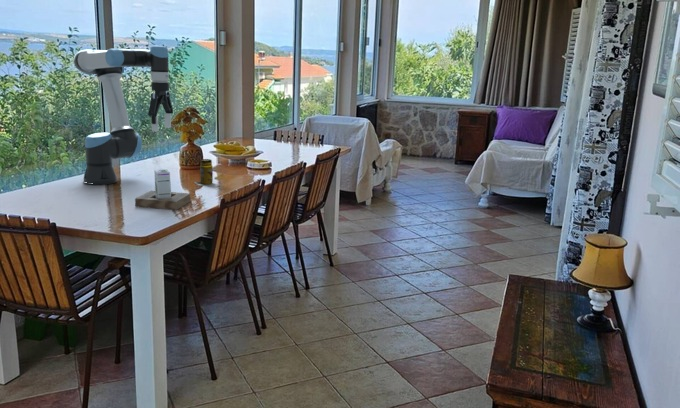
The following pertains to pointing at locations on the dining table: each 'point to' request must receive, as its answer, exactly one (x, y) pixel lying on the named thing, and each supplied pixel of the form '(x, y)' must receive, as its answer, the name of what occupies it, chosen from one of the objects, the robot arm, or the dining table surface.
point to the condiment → (206, 172)
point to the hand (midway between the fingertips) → (161, 129)
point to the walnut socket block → (162, 200)
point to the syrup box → (162, 184)
